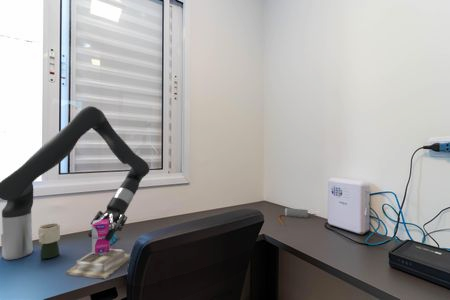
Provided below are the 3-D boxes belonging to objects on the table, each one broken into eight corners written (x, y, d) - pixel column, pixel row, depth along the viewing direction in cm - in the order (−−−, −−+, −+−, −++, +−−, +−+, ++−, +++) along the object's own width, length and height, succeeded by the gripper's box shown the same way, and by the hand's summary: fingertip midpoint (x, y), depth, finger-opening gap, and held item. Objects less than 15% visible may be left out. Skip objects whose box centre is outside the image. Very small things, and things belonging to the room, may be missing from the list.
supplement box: (92, 255, 86) (90, 225, 85) (94, 249, 91) (93, 220, 91) (109, 252, 88) (108, 222, 88) (110, 246, 93) (109, 218, 93)
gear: (103, 245, 103) (93, 227, 106) (95, 254, 104) (85, 236, 107) (122, 239, 113) (111, 223, 116) (114, 247, 114) (104, 230, 117)
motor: (280, 213, 153) (279, 206, 152) (316, 216, 146) (316, 209, 145) (275, 231, 132) (275, 223, 131) (317, 236, 124) (317, 227, 123)
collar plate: (66, 274, 83) (65, 264, 83) (98, 253, 99) (98, 245, 99) (105, 279, 80) (105, 269, 80) (132, 256, 96) (132, 248, 96)
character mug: (50, 250, 102) (49, 221, 101) (67, 250, 102) (66, 221, 102) (30, 263, 91) (29, 230, 91) (49, 263, 91) (48, 230, 91)
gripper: (102, 195, 98) (78, 231, 88) (129, 197, 93) (106, 237, 83) (113, 204, 104) (91, 240, 93) (138, 207, 98) (118, 245, 88)
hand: (98, 238), depth 88 cm, fingers closed on supplement box, 8 cm apart
